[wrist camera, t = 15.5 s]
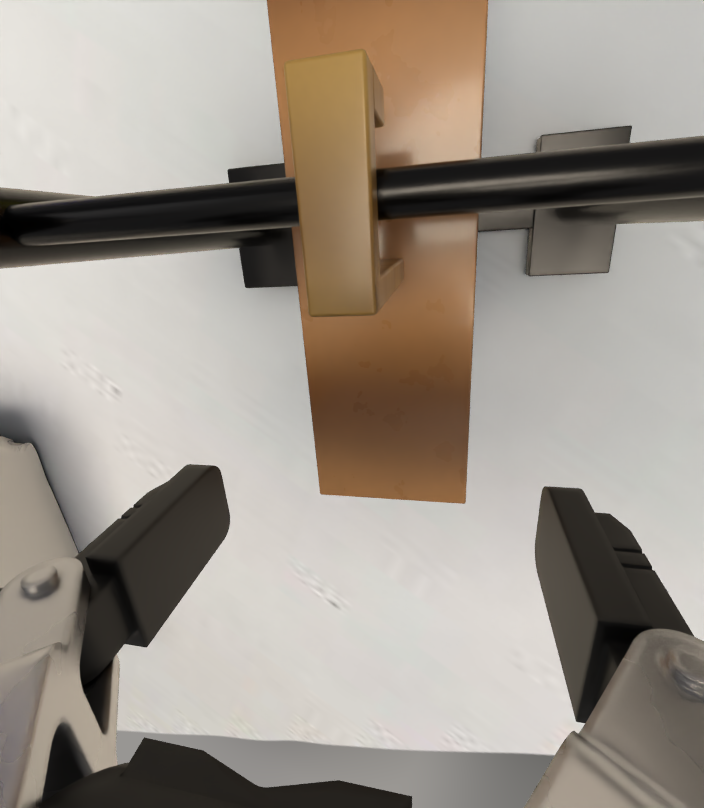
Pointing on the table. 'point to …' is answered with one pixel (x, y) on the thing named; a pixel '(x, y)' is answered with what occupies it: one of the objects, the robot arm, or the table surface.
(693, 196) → the black hurdle stand
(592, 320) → the table surface
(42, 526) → the jagged cream rock lump
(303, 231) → the scrub brush
